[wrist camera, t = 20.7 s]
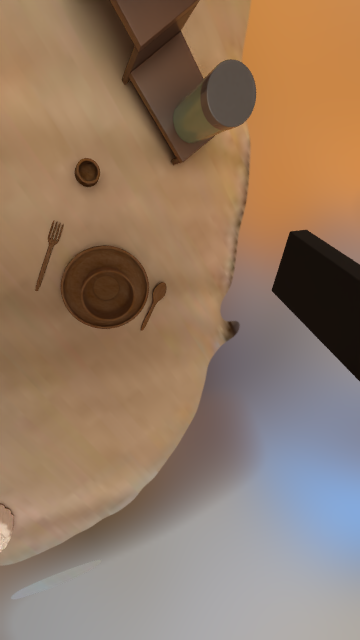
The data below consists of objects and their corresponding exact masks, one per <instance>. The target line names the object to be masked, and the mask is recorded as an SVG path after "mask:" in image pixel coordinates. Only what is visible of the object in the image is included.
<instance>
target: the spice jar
mask: <svg viewBox="0 0 360 640" xmlns="http://www.w3.org/2000/svg"><path fill="white" fill-rule="evenodd" d="M255 101H256V87H255V81H254V78H253V76H252V74H251V72H250V70H249V69H248V68H247V67H246V66H245V65H244V64H243V63H242V62H240V61H237V60H225V61H223V62H221V63H220V64H218V65H217V66H216V67H215V68H214V69H213V70H212V71H211V72H210V73H209V74H208V75H207V76H206V77H205V78H204V79H203V80H202V81H201V82H200V83H199V84H198V85H196V86H195V87H194V88H193V89H192V90H191V91H190V92H189V93H188V94H187V95H186V96H184V97H183V98H182V99H181V100H180V101H179V102H178V104H177V105H176V107H175V110H174V114H173V123H174V128H175V130H176V132H177V134H178V136H179V137H180V138H181V139H182V140H183V141H185V142H187V143H191V144H194V143H198V142H200V141H203V140H205V139H207V138H210V137H212V136H214V135H217V134H219V133H221V132H224V131H226V130H229V129H232V128H235V127H237V126H239V125H241V124H243V123H244V122H245V121H246V120H247V119H248V118H249V116H250V115H251V113H252V111H253V108H254V105H255Z"/></svg>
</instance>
